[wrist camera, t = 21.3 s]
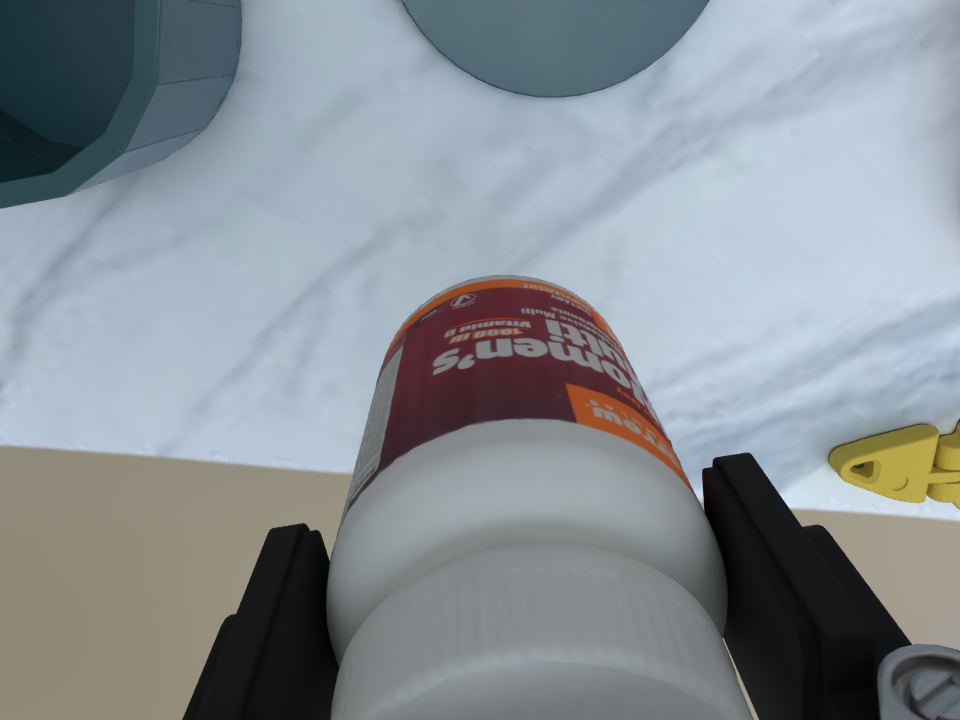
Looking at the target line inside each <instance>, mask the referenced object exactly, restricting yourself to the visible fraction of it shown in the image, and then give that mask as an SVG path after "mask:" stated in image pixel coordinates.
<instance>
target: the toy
mask: <svg viewBox="0 0 960 720" xmlns="http://www.w3.org/2000/svg"><path fill="white" fill-rule="evenodd" d="M829 463H830V465H831V466H832V468H833V469H834V470H835V471H836V472H837V474H838V475H839V476H840V477H841V478H842V479H843V480H844V481H845V482H848V483H850V484H853V485H855V486H858V487H860V488H863V489H866V490H869V491H871V492H874V493H877V494H880V495H882V496H885V497H888V498H891V499H895V500H899V501H904V502H911V503H922V502H924V501H925V498H926V494H927V495H928V496H929V497H930V498H931V499H933V500H936V501H939V502H952V503H953V504H954V505H955V506H956V507H957V508H958V509H960V422H959V423H958V425H957V429H956V432H955V433H954V434H952V435H945V436H941V437H939V430H938V429H937V428H936V427H934V426H931V425H915V426H912V427H908V428H904V429H900V430H896V431H892V432H888V433H885V434H881V435H877V436H873V437H869V438H866V439H862V440H859V441H856V442H853V443H849V444H846V445H843V446H840V447H837V448H836V449H835V450H833V452H832V453H831V454H830V457H829ZM861 463H864V465H863V467H861V468H856V467H853V466H854V465H858V464H861Z"/></svg>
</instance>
